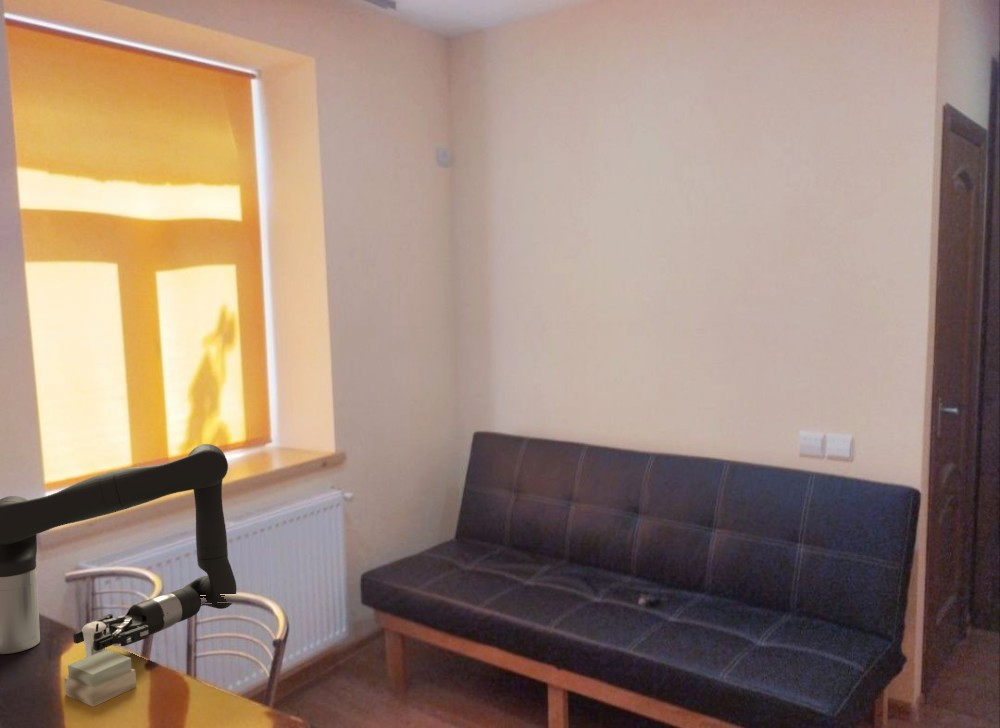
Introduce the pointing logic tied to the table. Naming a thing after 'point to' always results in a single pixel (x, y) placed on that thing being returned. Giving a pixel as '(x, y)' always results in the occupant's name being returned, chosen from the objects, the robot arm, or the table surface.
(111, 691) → the tower base
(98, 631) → the milkshake
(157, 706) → the table surface
